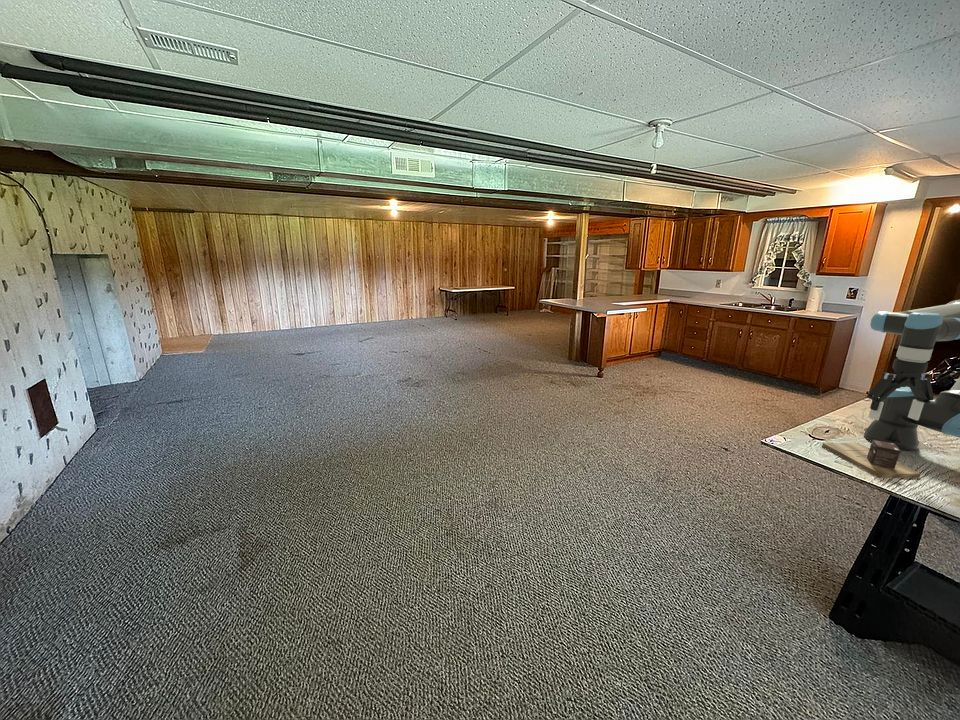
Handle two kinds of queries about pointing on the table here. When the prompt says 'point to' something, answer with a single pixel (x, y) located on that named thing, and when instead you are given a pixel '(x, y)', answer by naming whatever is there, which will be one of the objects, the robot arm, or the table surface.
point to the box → (883, 454)
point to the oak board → (859, 457)
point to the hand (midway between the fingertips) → (893, 418)
